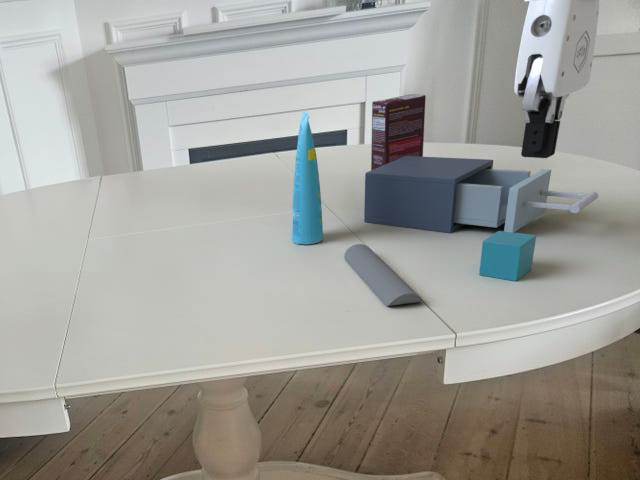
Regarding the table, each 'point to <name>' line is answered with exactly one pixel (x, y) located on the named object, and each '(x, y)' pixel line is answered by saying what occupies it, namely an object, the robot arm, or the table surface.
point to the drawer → (509, 198)
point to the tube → (306, 190)
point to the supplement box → (397, 128)
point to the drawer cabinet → (418, 191)
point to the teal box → (507, 255)
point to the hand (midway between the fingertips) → (537, 155)
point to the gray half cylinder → (380, 276)
